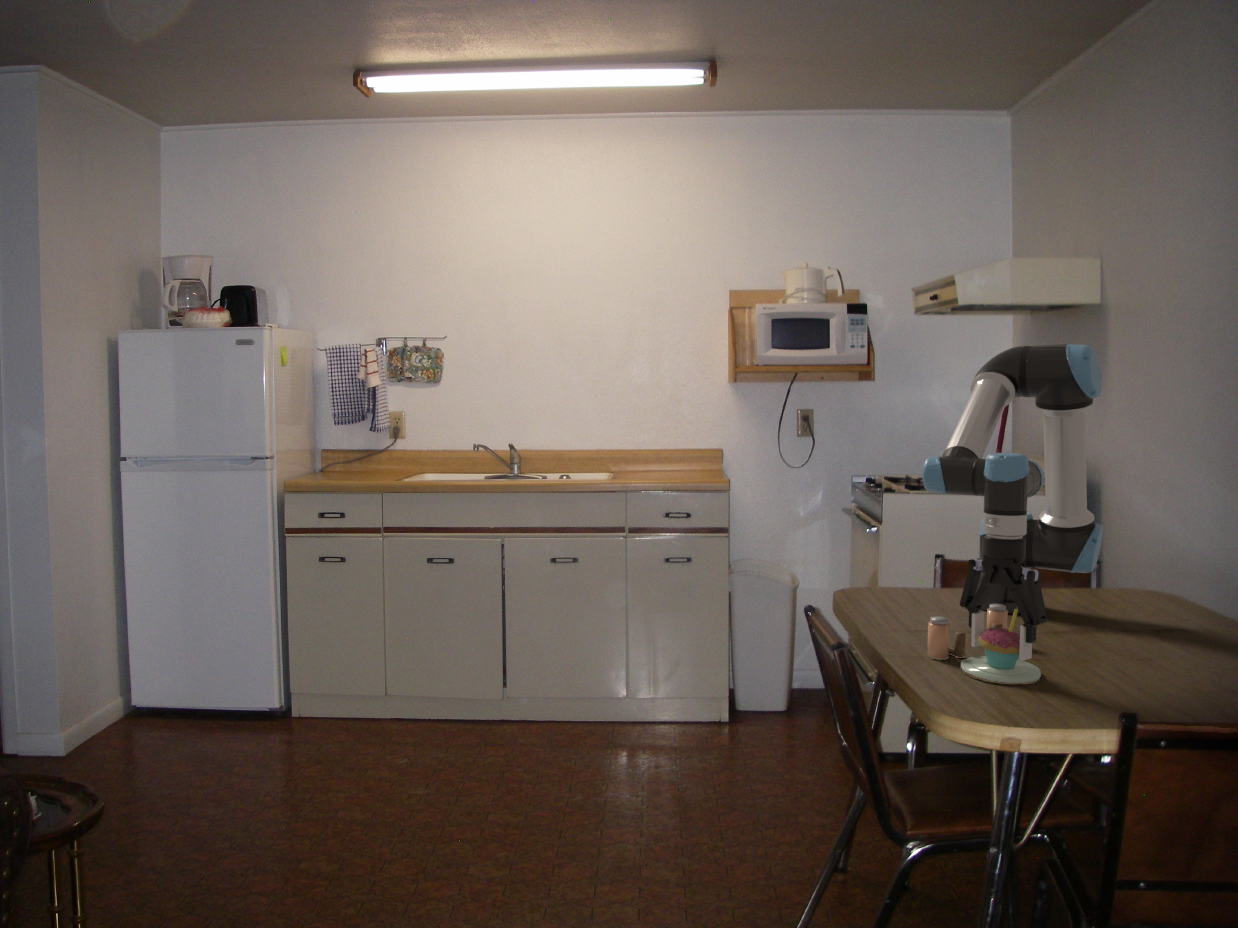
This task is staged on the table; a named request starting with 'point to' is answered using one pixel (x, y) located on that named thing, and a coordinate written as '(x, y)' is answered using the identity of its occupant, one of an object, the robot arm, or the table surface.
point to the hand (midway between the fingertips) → (1000, 652)
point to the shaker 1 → (938, 637)
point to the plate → (1001, 671)
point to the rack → (960, 642)
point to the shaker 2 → (997, 615)
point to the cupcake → (1001, 645)
